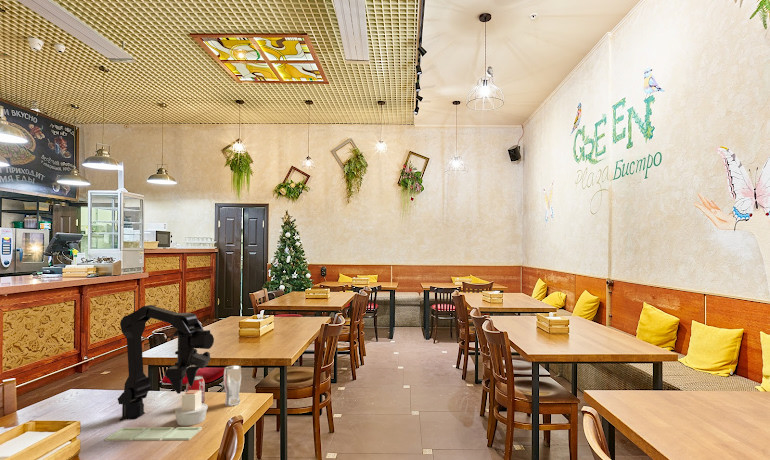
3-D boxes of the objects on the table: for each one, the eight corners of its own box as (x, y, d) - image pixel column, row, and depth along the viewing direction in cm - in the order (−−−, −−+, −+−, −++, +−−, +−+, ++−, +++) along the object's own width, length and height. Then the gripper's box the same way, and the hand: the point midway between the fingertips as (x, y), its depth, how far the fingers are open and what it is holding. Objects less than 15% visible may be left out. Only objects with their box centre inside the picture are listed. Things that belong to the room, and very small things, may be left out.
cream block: (181, 410, 154) (182, 393, 155) (188, 405, 159) (188, 389, 160) (194, 410, 154) (195, 393, 155) (201, 405, 159) (201, 389, 159)
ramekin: (206, 414, 164) (206, 400, 164) (208, 424, 154) (208, 410, 154) (175, 419, 159) (175, 405, 159) (174, 430, 149) (174, 415, 149)
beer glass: (230, 407, 170) (231, 370, 171) (220, 404, 174) (220, 368, 175) (244, 402, 176) (244, 366, 177) (234, 399, 180) (234, 364, 181)
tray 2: (133, 441, 140) (134, 438, 140) (149, 430, 149) (149, 427, 149) (160, 441, 140) (160, 438, 140) (174, 430, 149) (174, 427, 149)
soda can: (197, 410, 167) (197, 380, 168) (181, 409, 169) (182, 379, 170) (208, 404, 174) (208, 375, 175) (193, 403, 176) (193, 375, 176)
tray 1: (105, 441, 141) (105, 438, 141) (122, 430, 150) (122, 427, 150) (131, 441, 140) (131, 438, 140) (147, 430, 149) (147, 427, 149)
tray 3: (163, 441, 140) (163, 438, 140) (177, 430, 149) (177, 427, 149) (189, 441, 140) (189, 438, 140) (201, 429, 149) (201, 427, 149)
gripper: (195, 353, 148) (194, 398, 147) (217, 342, 167) (216, 381, 166) (164, 353, 148) (163, 398, 147) (190, 342, 167) (189, 381, 166)
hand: (185, 389), depth 157 cm, fingers open, 9 cm apart
